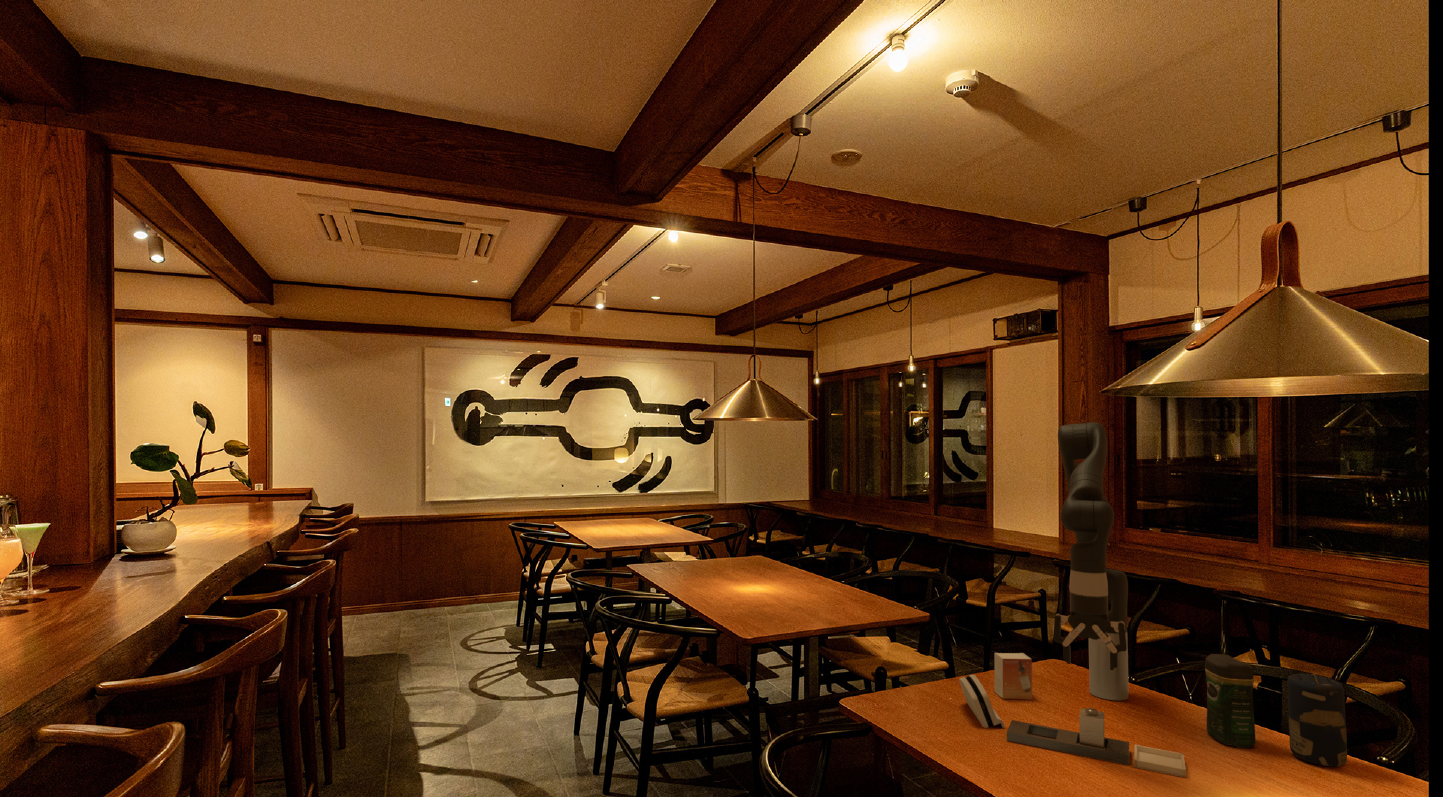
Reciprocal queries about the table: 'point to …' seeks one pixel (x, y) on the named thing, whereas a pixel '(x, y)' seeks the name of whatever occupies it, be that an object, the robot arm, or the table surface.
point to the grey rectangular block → (1092, 728)
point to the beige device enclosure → (979, 701)
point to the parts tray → (1160, 761)
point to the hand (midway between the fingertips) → (1090, 666)
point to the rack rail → (1066, 742)
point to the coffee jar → (1230, 701)
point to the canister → (1317, 719)
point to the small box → (1013, 675)
